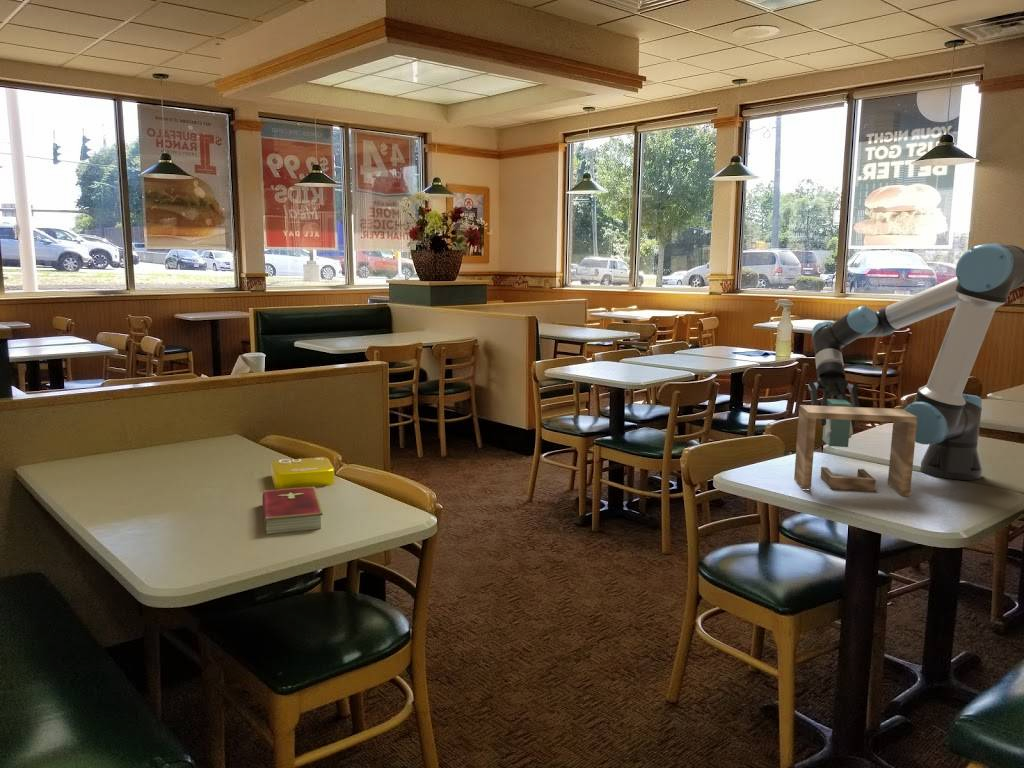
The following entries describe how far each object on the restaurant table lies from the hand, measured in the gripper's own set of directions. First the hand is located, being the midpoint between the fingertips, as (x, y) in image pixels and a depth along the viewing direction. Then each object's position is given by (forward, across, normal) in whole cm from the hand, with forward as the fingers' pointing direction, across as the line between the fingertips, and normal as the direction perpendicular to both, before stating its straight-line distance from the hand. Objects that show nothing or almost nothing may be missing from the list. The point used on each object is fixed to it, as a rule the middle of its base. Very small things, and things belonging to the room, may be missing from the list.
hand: (839, 434), depth 213 cm
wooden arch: (+15, -1, -1) cm, 15 cm away
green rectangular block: (0, 0, -5) cm, 5 cm away
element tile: (+34, +141, +16) cm, 146 cm away
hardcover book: (+54, +131, +37) cm, 146 cm away
